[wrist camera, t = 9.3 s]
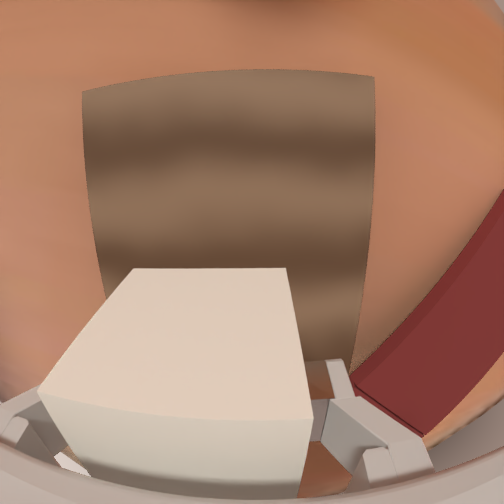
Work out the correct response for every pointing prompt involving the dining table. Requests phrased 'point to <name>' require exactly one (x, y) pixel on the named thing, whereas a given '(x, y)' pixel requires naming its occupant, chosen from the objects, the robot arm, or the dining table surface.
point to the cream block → (189, 386)
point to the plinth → (240, 184)
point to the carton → (443, 337)
